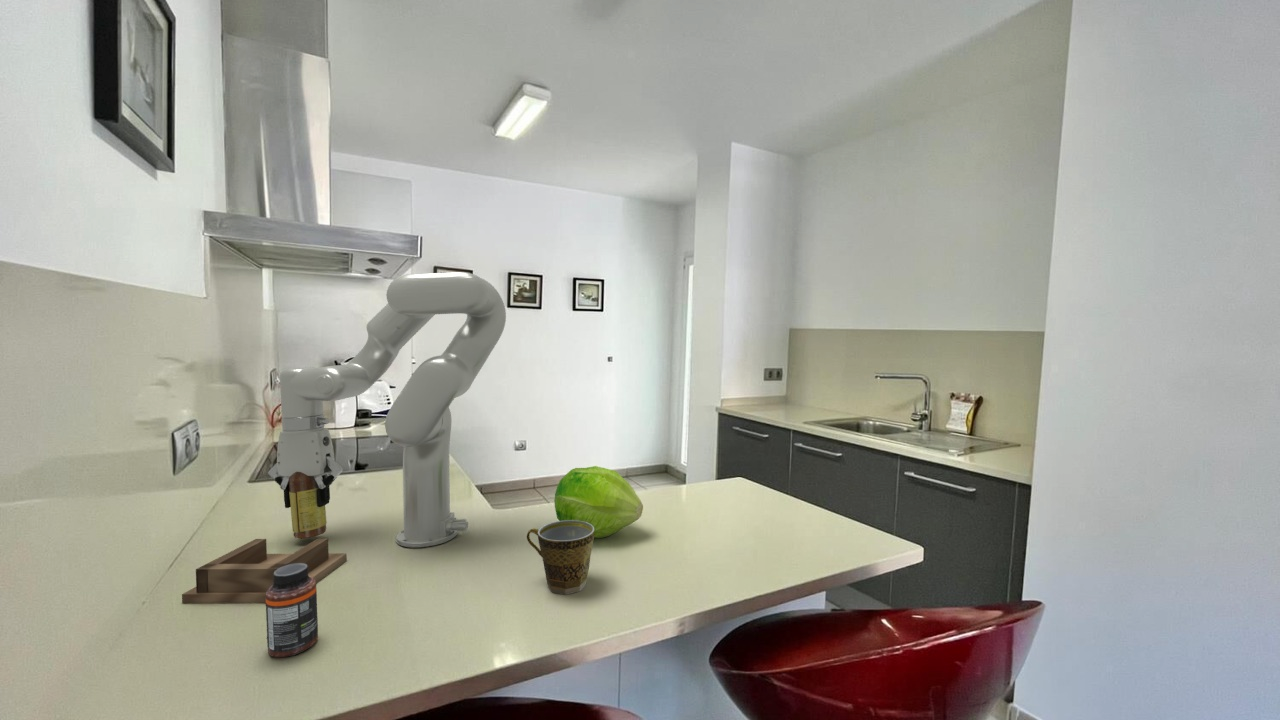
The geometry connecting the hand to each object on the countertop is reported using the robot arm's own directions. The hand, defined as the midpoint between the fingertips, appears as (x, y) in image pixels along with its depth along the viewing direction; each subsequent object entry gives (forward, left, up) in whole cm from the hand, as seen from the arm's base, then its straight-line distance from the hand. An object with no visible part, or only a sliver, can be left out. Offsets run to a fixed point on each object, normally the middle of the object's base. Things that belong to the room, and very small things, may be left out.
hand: (307, 504), depth 108 cm
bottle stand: (-5, +18, -8) cm, 21 cm away
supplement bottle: (-23, +38, -8) cm, 45 cm away
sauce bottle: (0, 0, -7) cm, 7 cm away
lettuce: (-63, -3, -8) cm, 64 cm away
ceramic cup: (-58, +20, -8) cm, 62 cm away
